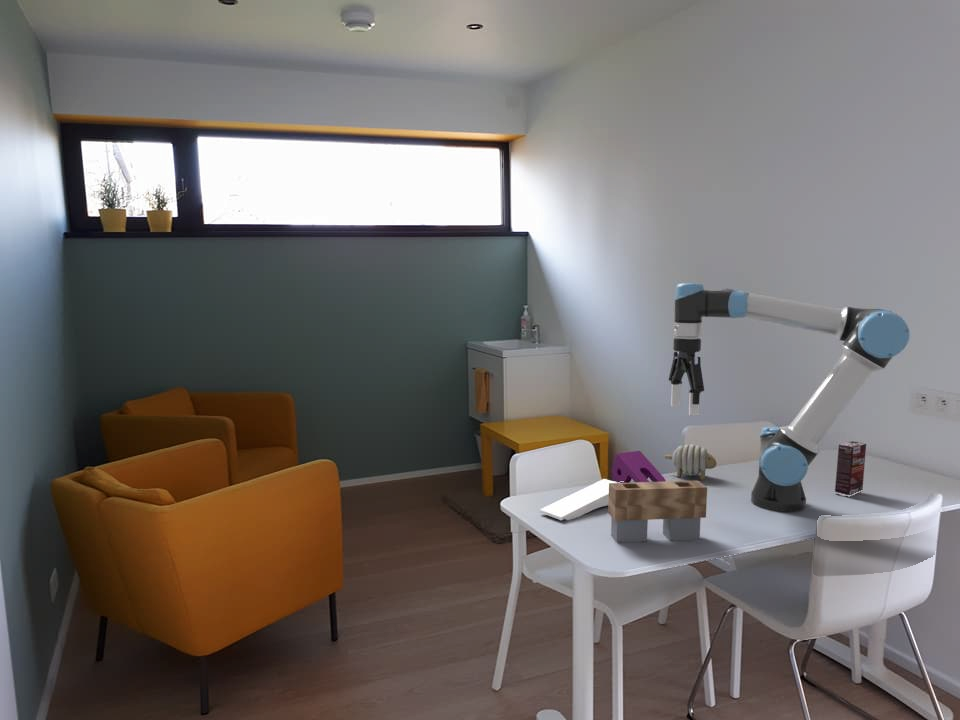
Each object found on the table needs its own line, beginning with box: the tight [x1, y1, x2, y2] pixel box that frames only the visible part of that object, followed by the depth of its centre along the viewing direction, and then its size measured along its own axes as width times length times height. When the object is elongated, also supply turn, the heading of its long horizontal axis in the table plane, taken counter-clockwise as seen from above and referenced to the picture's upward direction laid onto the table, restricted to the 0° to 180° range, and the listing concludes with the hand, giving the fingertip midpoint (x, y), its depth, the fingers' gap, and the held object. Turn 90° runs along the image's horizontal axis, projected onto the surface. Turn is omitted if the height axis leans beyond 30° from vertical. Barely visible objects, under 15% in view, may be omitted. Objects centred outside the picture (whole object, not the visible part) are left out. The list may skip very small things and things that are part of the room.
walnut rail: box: [607, 480, 708, 521], centre depth 186 cm, size 24×6×8 cm, turn 96°
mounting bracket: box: [611, 450, 667, 483], centre depth 233 cm, size 10×8×18 cm
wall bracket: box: [539, 478, 618, 521], centre depth 210 cm, size 10×7×28 cm
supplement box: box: [834, 440, 867, 495], centre depth 223 cm, size 9×5×16 cm, turn 126°
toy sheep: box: [664, 443, 717, 481], centre depth 242 cm, size 11×17×11 cm, turn 70°
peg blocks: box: [610, 517, 701, 543], centre depth 187 cm, size 22×5×10 cm, turn 96°
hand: (684, 410), depth 208 cm, fingers open, 13 cm apart
